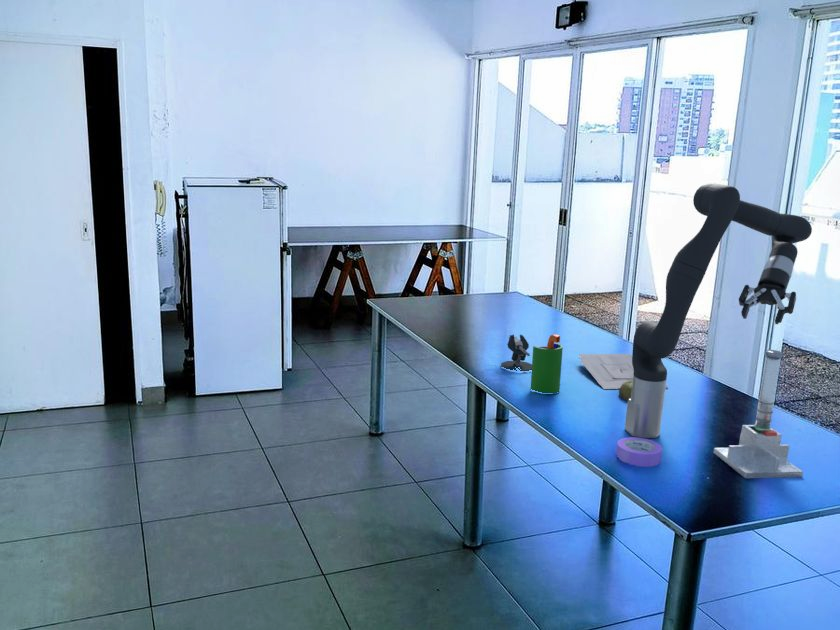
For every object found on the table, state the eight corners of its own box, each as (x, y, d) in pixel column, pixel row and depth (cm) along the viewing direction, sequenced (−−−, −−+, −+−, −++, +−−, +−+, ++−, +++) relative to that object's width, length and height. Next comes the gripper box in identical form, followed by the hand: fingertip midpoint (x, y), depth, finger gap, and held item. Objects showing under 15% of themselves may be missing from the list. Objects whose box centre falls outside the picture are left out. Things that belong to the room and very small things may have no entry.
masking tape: (607, 456, 205) (609, 443, 204) (630, 446, 213) (631, 433, 212) (646, 471, 197) (648, 457, 196) (668, 459, 205) (670, 446, 204)
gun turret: (512, 379, 267) (515, 344, 264) (495, 362, 286) (497, 329, 283) (546, 378, 270) (549, 343, 267) (526, 362, 288) (529, 329, 285)
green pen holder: (542, 383, 263) (546, 328, 259) (564, 390, 258) (570, 333, 253) (526, 390, 256) (531, 333, 251) (549, 397, 250) (554, 338, 246)
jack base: (744, 479, 195) (750, 439, 192) (710, 452, 211) (716, 415, 208) (805, 477, 197) (811, 438, 194) (767, 450, 213) (773, 414, 211)
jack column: (758, 438, 200) (771, 354, 194) (749, 432, 204) (762, 349, 198) (772, 438, 200) (785, 354, 195) (763, 432, 204) (776, 349, 199)
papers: (632, 360, 292) (634, 351, 291) (667, 395, 265) (669, 385, 264) (572, 360, 289) (574, 351, 287) (602, 396, 261) (603, 386, 260)
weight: (652, 391, 260) (654, 378, 259) (666, 405, 247) (667, 391, 246) (613, 391, 260) (615, 377, 259) (625, 404, 247) (626, 390, 246)
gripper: (749, 263, 219) (732, 307, 213) (802, 270, 211) (786, 316, 205) (751, 279, 225) (735, 322, 218) (803, 286, 216) (788, 332, 210)
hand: (760, 319), depth 211 cm, fingers open, 8 cm apart
